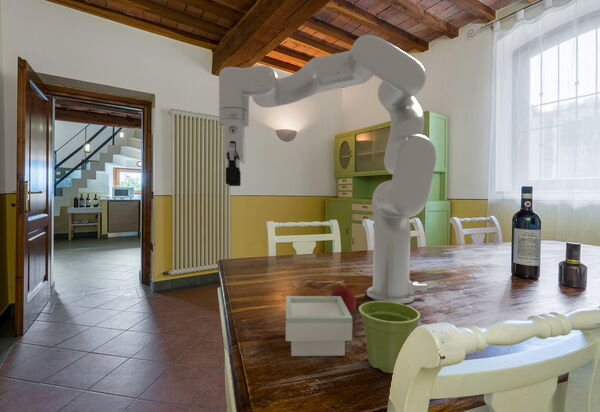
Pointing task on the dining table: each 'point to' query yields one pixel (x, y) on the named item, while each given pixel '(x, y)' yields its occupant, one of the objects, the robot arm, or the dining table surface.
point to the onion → (346, 296)
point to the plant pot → (386, 331)
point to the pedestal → (317, 325)
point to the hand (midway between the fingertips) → (233, 185)
